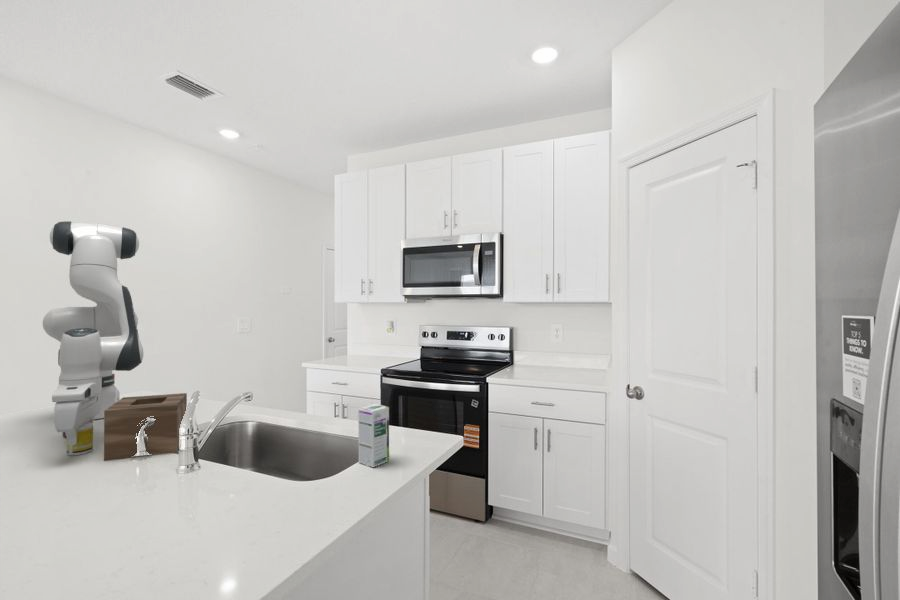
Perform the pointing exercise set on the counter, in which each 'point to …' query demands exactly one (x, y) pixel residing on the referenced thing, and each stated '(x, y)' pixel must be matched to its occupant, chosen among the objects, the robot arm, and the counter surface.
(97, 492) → the counter surface
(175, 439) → the box
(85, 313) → the robot arm
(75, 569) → the counter surface
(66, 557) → the counter surface
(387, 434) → the syrup box
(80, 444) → the supplement bottle
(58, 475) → the counter surface
